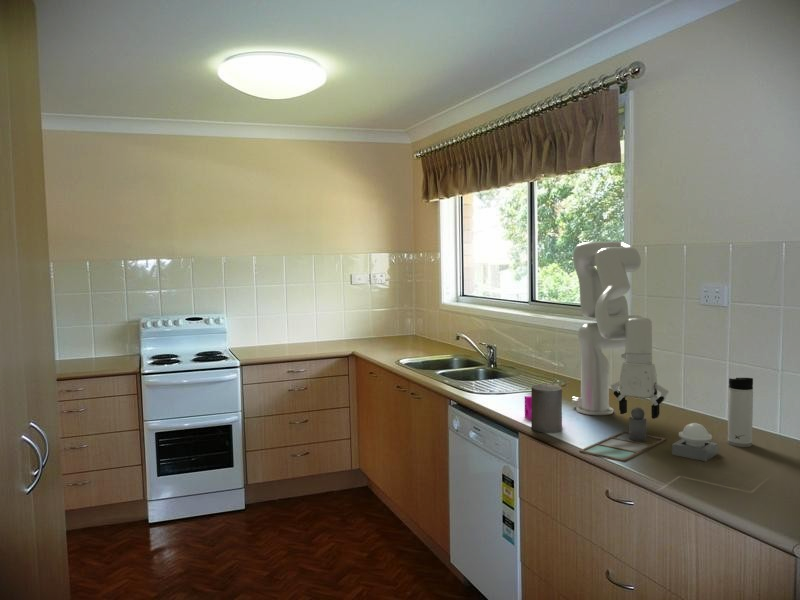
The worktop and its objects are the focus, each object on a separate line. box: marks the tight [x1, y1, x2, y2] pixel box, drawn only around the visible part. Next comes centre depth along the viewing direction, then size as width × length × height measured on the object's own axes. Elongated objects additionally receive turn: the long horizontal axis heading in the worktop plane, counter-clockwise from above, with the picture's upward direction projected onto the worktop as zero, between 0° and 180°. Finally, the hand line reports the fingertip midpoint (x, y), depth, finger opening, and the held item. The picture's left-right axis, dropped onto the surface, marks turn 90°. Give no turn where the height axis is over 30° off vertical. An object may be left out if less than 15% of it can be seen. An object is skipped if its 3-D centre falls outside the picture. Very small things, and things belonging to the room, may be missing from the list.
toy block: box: [524, 395, 532, 421], centre depth 215 cm, size 15×6×8 cm, turn 14°
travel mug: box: [727, 377, 754, 448], centre depth 186 cm, size 6×7×20 cm
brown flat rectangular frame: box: [579, 430, 667, 463], centre depth 187 cm, size 13×28×1 cm, turn 135°
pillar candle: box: [530, 382, 563, 434], centre depth 206 cm, size 10×10×15 cm
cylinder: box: [628, 406, 647, 443], centre depth 193 cm, size 5×5×10 cm
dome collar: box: [671, 438, 719, 462], centre depth 178 cm, size 9×9×3 cm
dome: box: [678, 422, 713, 448], centre depth 178 cm, size 8×8×7 cm
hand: (639, 415), depth 192 cm, fingers open, 9 cm apart
